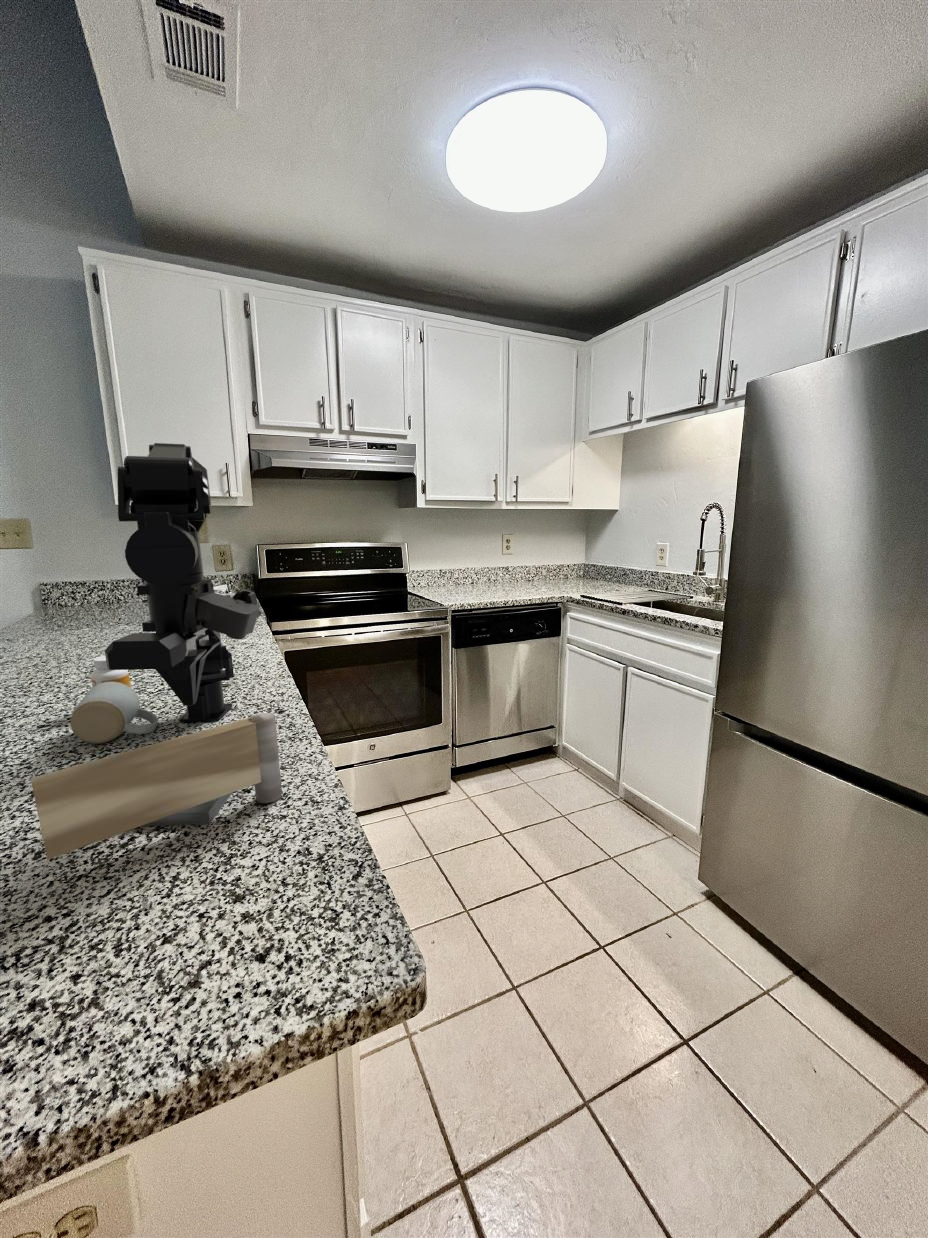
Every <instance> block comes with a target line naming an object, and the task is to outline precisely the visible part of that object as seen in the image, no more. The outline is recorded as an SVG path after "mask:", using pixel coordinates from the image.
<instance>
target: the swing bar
mask: <svg viewBox="0 0 928 1238" xmlns="http://www.w3.org/2000/svg"><path fill="white" fill-rule="evenodd" d="M278 743H279V742H278V734H277V722H276V714H274V713H272V712H261V713H255V714H252V715H251V716H249V717H248V718H243V719H239V720H236V721H233V722H229V723H225V724H222V725H221V724H220V725H218V726H215V727H212V728H207V729H203V730H201V731H197V732H192V733H189V734H186V735H182V736H178V737H174V738H171V739H168V740H164V741H160V742H157V743H153V744H150V745H145V746H142V747H139V748H135V749H132V750H127V751H123V752H120V753H117V754H113V755H110V756H106V757H102V758H98V759H95V760H92V761H91V760H90V761H87V762H84V763H80V764H77V765H72V766H70V767H69V766H68V767H66V768H63V769H59V770H55V771H52V772H48V773H43V774H40V775H38V776H34V777H30V782H31V787H32V791H33V796H34V801H35V807H36V811H37V815H38V817H37V818H38V820H39V827H40V831H41V837H42V840H43V841H42V842H43V845H44V846H43V847H44V852H45V855H46V860H47V861H49V860H50V859H53V858H57V857H59V856H62V855H65V854H68V853H70V852H73V851H76V850H78V849H81V848H83V847H86V846H89V845H92V844H95V843H97V842H100V841H103V840H107V839H110V838H111V837H114V836H117V835H119V834H122V833H125V832H128V831H130V830H133V829H135V828H138V827H143V826H142V825H145V824H147V823H150V822H153V821H156V820H158V819H161V818H164V817H166V816H169V815H172V814H175V813H177V812H180V811H183V810H186V809H188V808H191V807H194V806H197V805H199V804H202V803H205V802H208V801H210V800H213V799H216V798H219V797H221V796H224V795H227V794H230V793H232V794H233V793H234V792H238V791H240V790H243V789H246V788H248V787H251V786H253V785H254V791H255V793H254V794H255V801H256V802H258V803H259V804H268V803H270V804H271V803H274V802H277V800H279V799H281V798H282V796H283V789H282V779H281V767H280V755H279V744H278Z"/></svg>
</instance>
